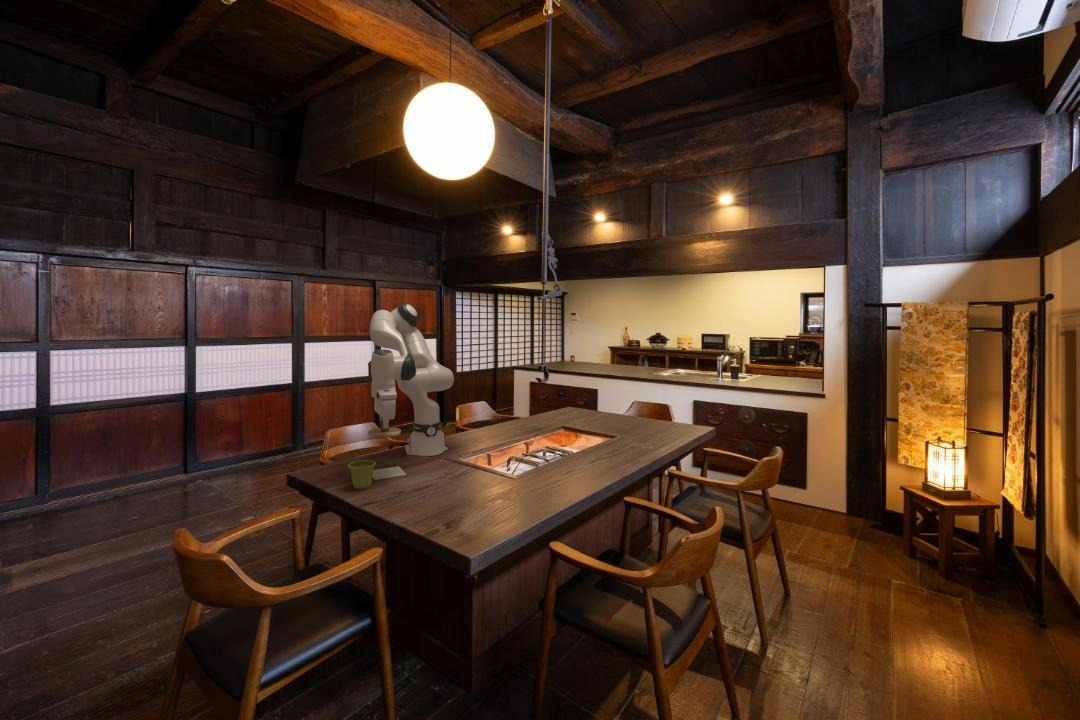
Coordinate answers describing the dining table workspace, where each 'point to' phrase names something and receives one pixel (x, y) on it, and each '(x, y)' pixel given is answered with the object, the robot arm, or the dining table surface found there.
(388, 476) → the mat
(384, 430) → the lid
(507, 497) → the dining table surface
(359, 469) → the plant pot
